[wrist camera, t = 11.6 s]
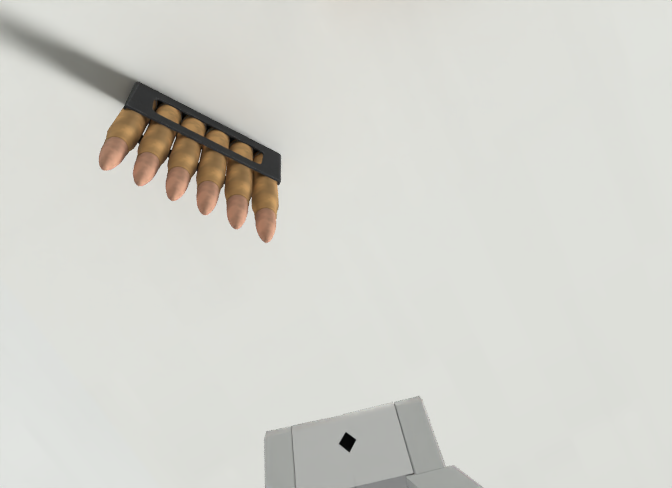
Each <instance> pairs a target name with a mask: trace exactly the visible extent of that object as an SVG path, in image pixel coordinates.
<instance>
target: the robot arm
mask: <svg viewBox="0 0 672 488" xmlns="http://www.w3.org/2000/svg"><path fill="white" fill-rule="evenodd" d="M264 455H265V488H483V487H482V486H481V485H479V484H478V483H477V482H475V481H474V480H473V479H471V478H470V477H469V476H468V475H466V474H465V473H464V472H462V471H461V470H460V469H458V468H457V467H456V466H454V465H452V466H447V467H446V466H445V463H444V460H443V457H442V454H441V452H440V449H439V446H438V443H437V440H436V437H435V435H434V432H433V429H432V426H431V423H430V420H429V417H428V415H427V412H426V409H425V406H424V403H423V400H422V399H421V398H420V397H419V396H417V397H413V398H409V399H405V400H400V401H396V402H394V403H393V402H391V403H387V404H383V405H379V406H375V407H371V408H367V409H363V410H359V411H355V412H351V413H347V414H343V415H341V416H336V417H331V418H326V419H322V420H317V421H312V422H307V423H302V424H298V425H293V426H290V427H285V428H280V429H276V430H271V431H266V434H265V438H264Z"/></svg>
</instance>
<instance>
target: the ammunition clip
mask: <svg viewBox="0 0 672 488" xmlns="http://www.w3.org/2000/svg"><path fill="white" fill-rule="evenodd" d="M148 124H149V126H148V128H147V130H146V132H145V134H144V136H143V135H142V134H143V132H144V130H145V128H146V126H147V125H148ZM175 137H176V139H175V142H174V145H173V148H172V150H170V149H171V146H172V143H173V141H174V138H175ZM137 143H139V147H138V155H137V159H136V162H135V165H134V170H133V177H134V181H135V183H136V185H138V186H143V185H145V184H147V183H148V182H150V181H151V180H152V178H153V177H154V176H155V174H156V173H157V171H158V169H159V168H160V166H161V164H163V163H164V161H165V160H166V159H167V157H169V160H168V164H167V165H168V173H167V179H166V193H167V196H168V198H169V199H170V200H171V201H175V200H178V199H179V198H180V197H181V196H182V195H183V194H184V193H185V191H186V189H187V187H188V184H189V182H190V180H191V177H192V176H193V175H194V174H195V172H196V171H197V176H196V181H197V206H198V209H199V211H200V212H201V213H202V214H203V215H208V214H209V213H210V212H211V211H212V210H213V209H214V207H215V206H216V203H217V201H218V197H219V193H220V190H221V188H222V187H223V184H225V198H226V203H227V217H228V220H229V222H230V224H231V226H232V227H233V228H234V229H239V228H240V227H241V226H242V225H243V223H244V222H245V219H246V216H247V213H248V206H249V201H250V199H251V197H252V209H253V212H254V215H255V221H256V229H257V232H258V234H259V236H260V238H261V240H262V241H263V242H265V243H268V242H269V241H270V240H271V239H272V237H273V235H274V232H275V229H276V216H277V210H278V207H279V205H278V189H277V185H279V184H280V182H281V155H280V154H279V153H277V152H275V151H273V150H271V149H269V148H267V147H265V146H263V145H261V144H259V143H257V142H255V141H253V140H251V139H249V138H247V137H245V136H244V135H242V134H240V133H238V132H236V131H234V130H232V129H230V128H228V127H226V126H224V125H222V124H220V123H218V122H216V121H214V120H212V119H210V118H208V117H207V116H205V115H203V114H201V113H199V112H197V111H195V110H193V109H191V108H189V107H187V106H185V105H183V104H181V103H179V102H177V101H175V100H173V99H171V98H169V97H168V96H166V95H164V94H162V93H160V92H158V91H156V90H154V89H152V88H150V87H148V86H146V85H144V84H142V83H140V82H136V83H135V85H134V87H133V89H132V91H131V93H130V95H129V97H128V99H127V101H126V104H125V106H124V107H123V109H122V110H121V112H120V113H119V115H118V116H117V118H116V119H115V121H114V122H113V124H112V125H111V127H110V128H109V130H108V131H107V136H106V140H105V142H104V145H103V146H102V148H101V151H100V155H99V165H100V167H101V169H102V170H106V171H107V170H111V169H113V168H114V167H116V166H117V165H119V164H120V163H121V162H122V160H123V159H124V158H125V156H126V155H127V154H128V152H129V151H131V150H132V149H134V147H135V146H136V145H137ZM201 149H202V152H201ZM200 153H201V157H200ZM199 157H200V162H199V163H198V161H199ZM226 167H227V170H226ZM225 174H226V176H225Z"/></svg>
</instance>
